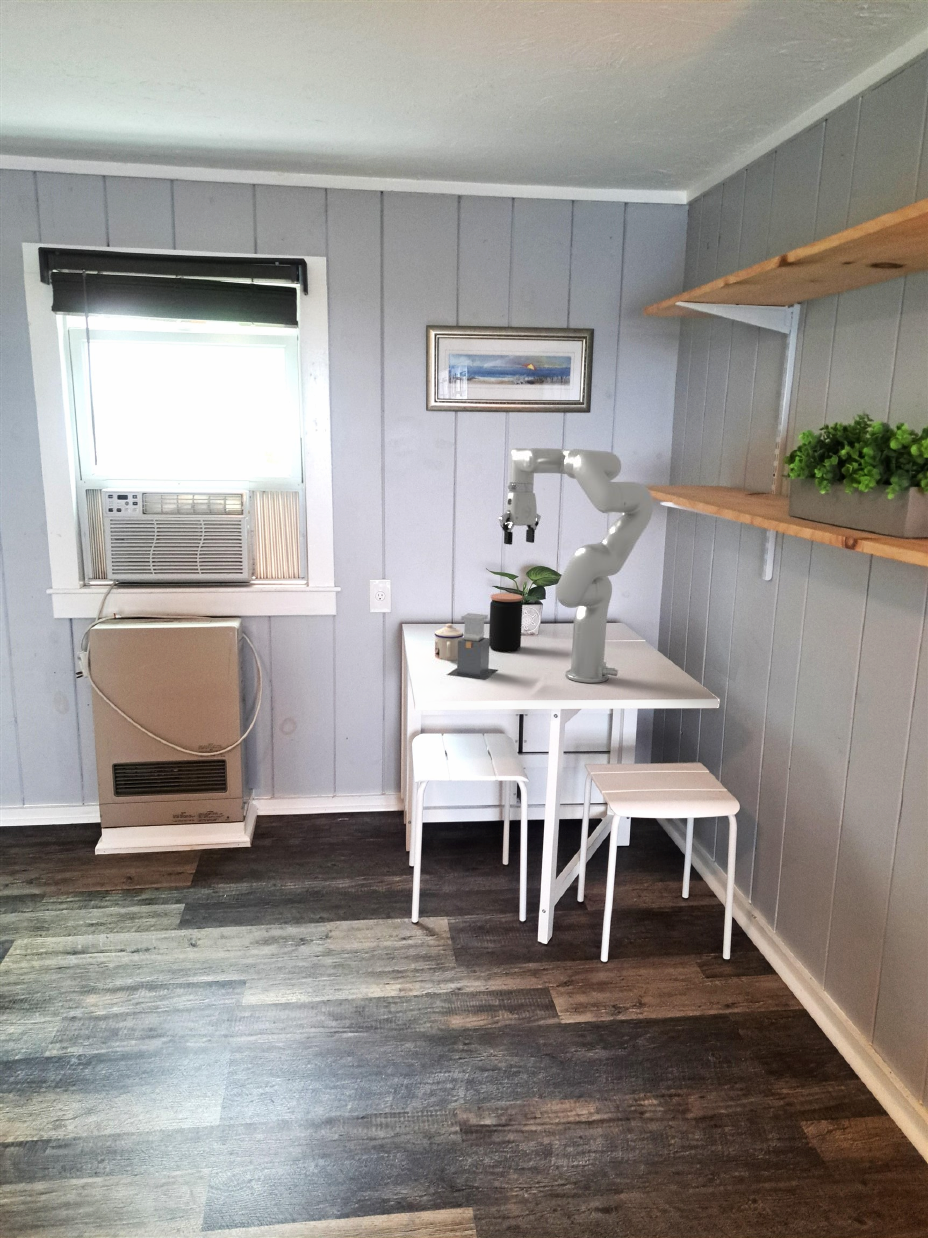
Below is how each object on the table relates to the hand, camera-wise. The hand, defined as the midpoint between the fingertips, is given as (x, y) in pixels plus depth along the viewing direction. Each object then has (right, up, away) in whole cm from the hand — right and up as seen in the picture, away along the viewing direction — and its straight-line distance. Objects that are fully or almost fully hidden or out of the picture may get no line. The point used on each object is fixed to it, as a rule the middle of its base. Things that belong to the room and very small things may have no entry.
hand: (519, 543), depth 266 cm
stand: (-15, -41, -18) cm, 47 cm away
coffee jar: (-4, -34, +16) cm, 38 cm away
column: (-15, -40, -18) cm, 46 cm away
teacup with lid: (-22, -38, -2) cm, 44 cm away
